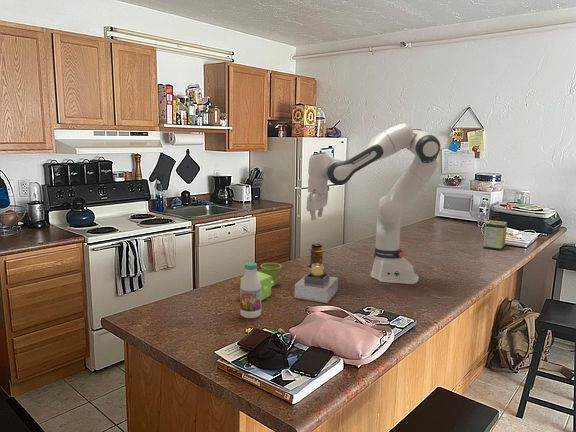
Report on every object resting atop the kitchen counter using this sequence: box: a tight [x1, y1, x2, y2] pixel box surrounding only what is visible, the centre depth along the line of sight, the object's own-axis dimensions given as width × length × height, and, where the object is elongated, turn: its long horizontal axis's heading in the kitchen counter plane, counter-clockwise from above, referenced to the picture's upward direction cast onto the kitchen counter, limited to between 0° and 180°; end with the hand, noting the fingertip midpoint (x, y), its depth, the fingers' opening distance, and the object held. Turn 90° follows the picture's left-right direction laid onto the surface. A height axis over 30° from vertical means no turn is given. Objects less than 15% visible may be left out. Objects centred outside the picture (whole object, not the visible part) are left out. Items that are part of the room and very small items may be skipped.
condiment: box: [303, 243, 326, 271], centre depth 231 cm, size 7×8×12 cm
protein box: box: [482, 219, 508, 252], centre depth 279 cm, size 10×16×16 cm
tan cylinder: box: [310, 263, 324, 279], centre depth 192 cm, size 5×5×8 cm
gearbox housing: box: [294, 271, 339, 304], centre depth 193 cm, size 14×16×8 cm
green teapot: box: [239, 270, 275, 301], centre depth 187 cm, size 18×10×10 cm, turn 146°
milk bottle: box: [239, 261, 262, 319], centre depth 169 cm, size 8×8×20 cm
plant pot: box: [260, 262, 282, 287], centre depth 205 cm, size 9×9×9 cm
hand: (316, 218), depth 208 cm, fingers open, 8 cm apart
